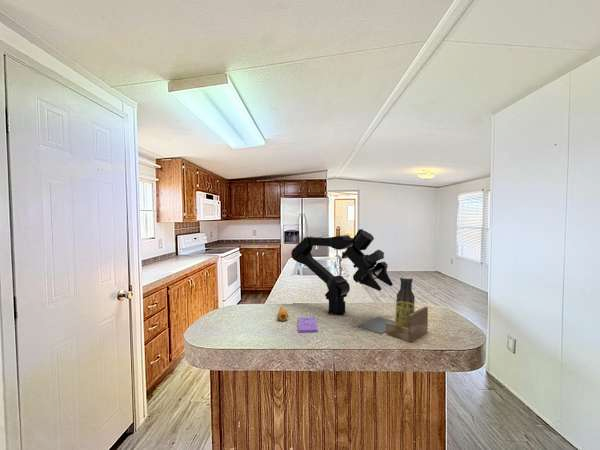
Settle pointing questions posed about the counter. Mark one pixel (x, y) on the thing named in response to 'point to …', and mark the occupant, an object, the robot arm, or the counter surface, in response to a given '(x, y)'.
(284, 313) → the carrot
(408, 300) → the sauce bottle
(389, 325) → the bottle rack
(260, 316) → the counter surface
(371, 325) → the charcoal mat
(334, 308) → the robot arm
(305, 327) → the sponges
